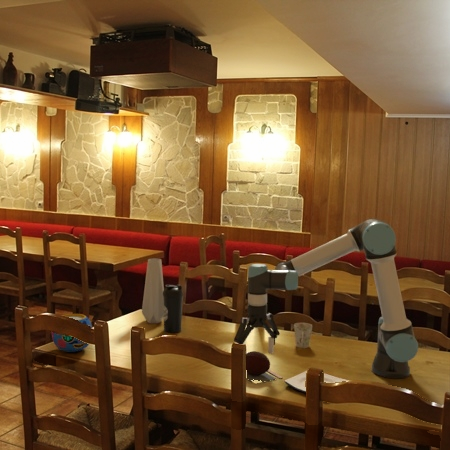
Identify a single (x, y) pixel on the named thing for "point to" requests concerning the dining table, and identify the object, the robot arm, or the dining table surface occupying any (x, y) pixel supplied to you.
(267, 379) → the mat
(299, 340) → the mug
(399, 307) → the robot arm
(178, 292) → the water bottle
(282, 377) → the pink thin rod
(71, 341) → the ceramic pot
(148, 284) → the vase
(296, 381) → the plate
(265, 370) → the potato
